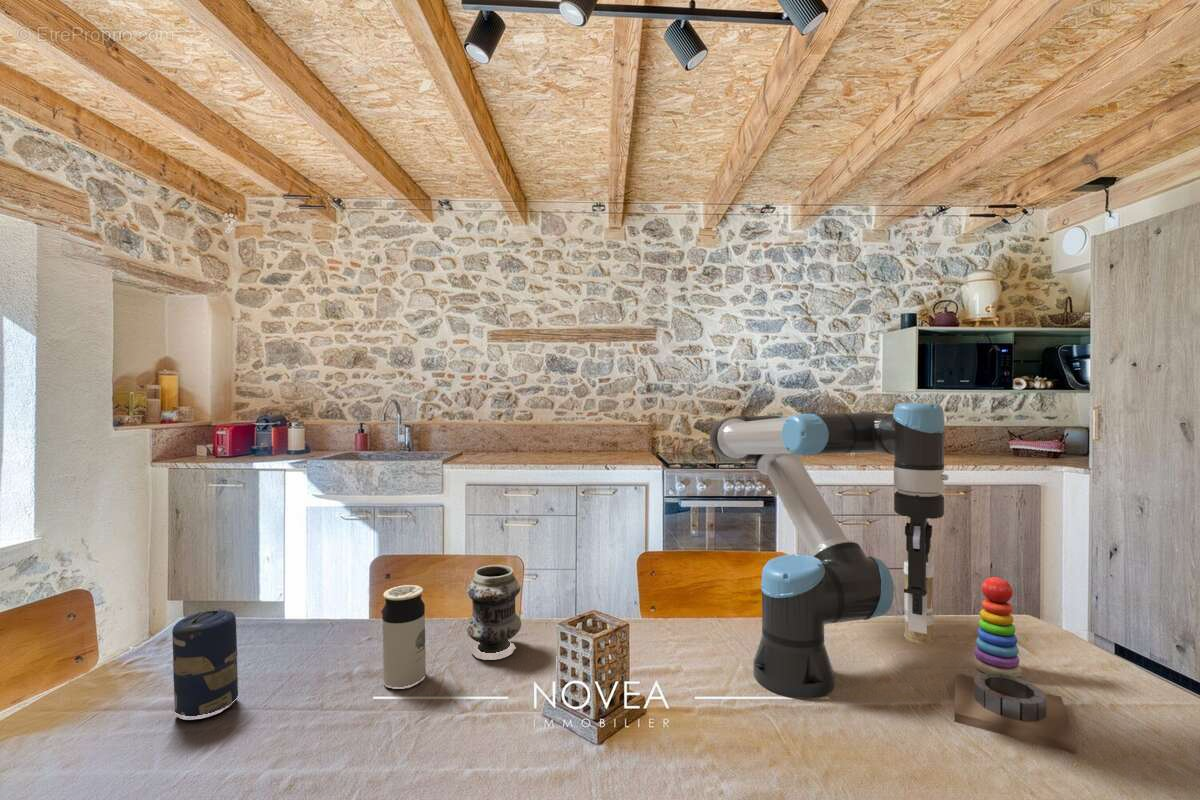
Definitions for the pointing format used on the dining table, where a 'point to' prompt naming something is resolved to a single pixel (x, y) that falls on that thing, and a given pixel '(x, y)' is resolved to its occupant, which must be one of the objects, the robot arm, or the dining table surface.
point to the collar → (1020, 708)
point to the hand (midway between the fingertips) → (918, 625)
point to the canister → (205, 662)
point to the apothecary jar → (493, 608)
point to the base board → (1043, 732)
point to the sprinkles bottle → (921, 637)
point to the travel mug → (403, 636)
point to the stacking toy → (997, 631)
